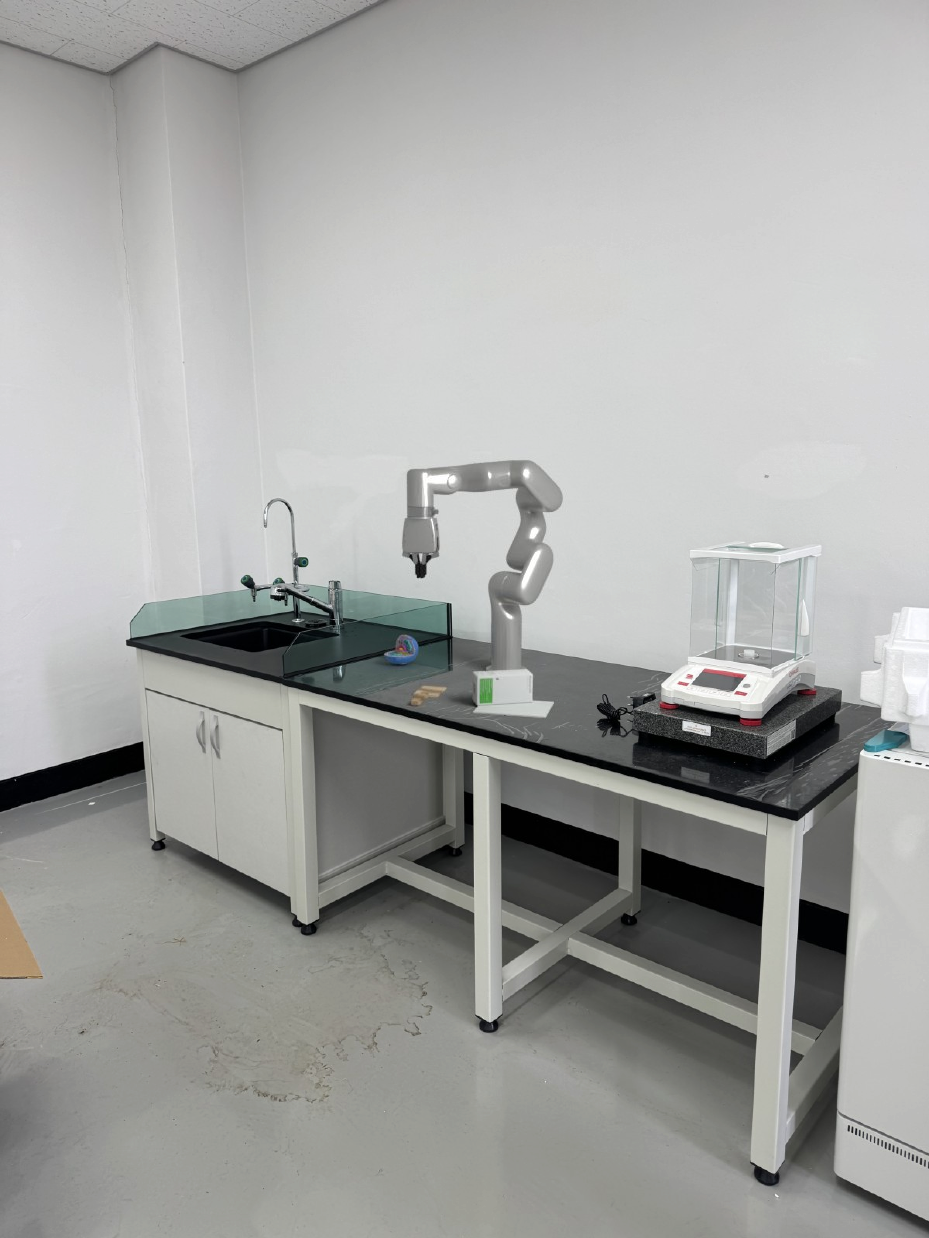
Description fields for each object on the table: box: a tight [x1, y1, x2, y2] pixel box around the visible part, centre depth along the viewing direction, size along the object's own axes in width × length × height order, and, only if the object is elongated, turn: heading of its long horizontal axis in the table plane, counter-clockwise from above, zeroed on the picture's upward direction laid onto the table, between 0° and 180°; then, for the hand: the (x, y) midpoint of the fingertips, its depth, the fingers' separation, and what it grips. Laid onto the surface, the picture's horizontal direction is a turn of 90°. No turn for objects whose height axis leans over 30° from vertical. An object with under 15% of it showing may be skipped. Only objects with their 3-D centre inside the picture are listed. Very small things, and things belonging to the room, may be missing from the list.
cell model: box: [383, 634, 420, 665], centre depth 282 cm, size 10×12×10 cm
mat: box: [472, 699, 555, 719], centre depth 231 cm, size 15×19×1 cm
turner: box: [410, 685, 448, 706], centre depth 243 cm, size 20×7×1 cm, turn 166°
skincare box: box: [472, 668, 534, 707], centre depth 236 cm, size 8×7×16 cm
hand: (420, 577), depth 248 cm, fingers closed
